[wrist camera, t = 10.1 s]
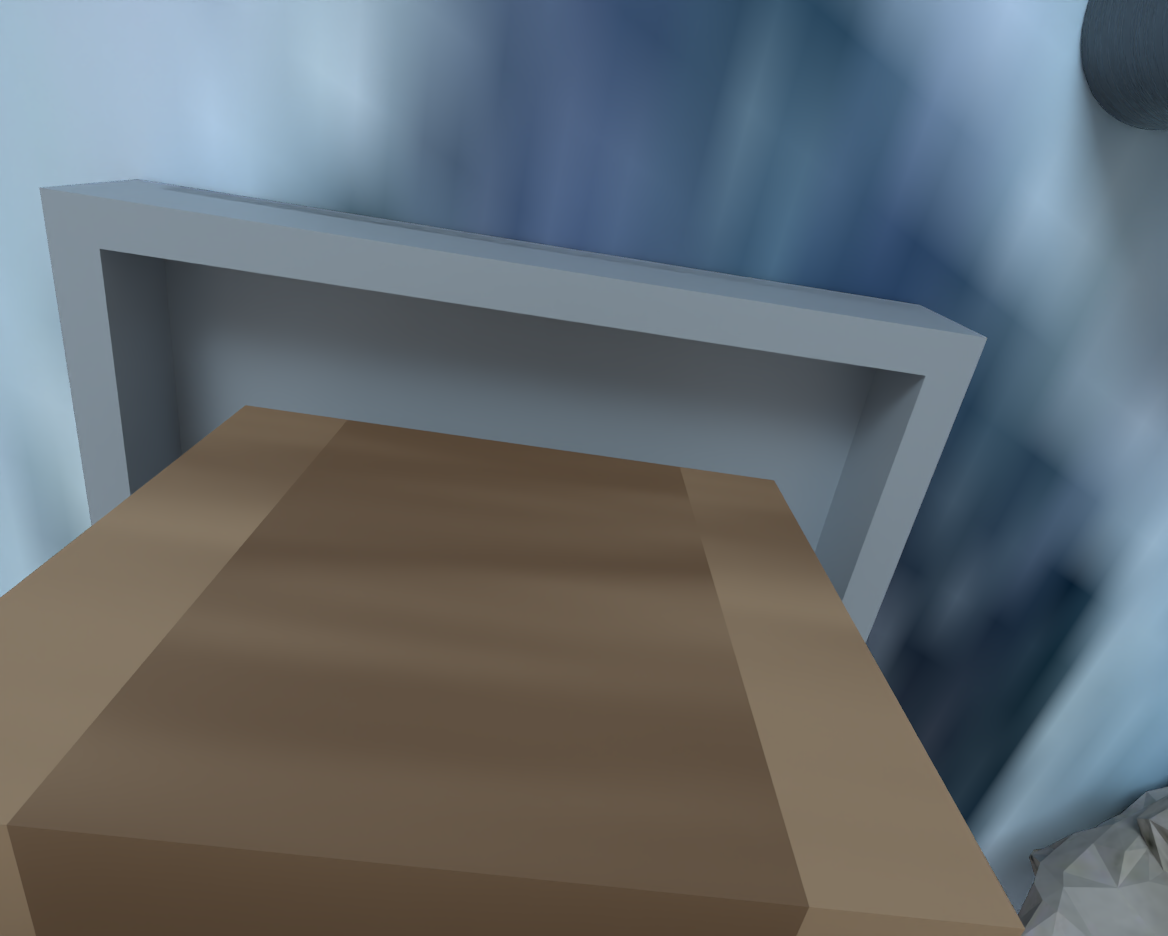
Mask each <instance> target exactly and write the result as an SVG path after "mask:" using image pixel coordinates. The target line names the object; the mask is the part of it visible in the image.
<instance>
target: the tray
mask: <svg viewBox="0 0 1168 936" xmlns="http://www.w3.org/2000/svg"><path fill="white" fill-rule="evenodd" d="M40 194H41V200H42V207H43V213H44V220H45V226H46V233H47V239H48V245H49V252H50V258H51V265H52V271H53V278H54V284H55V291H56V297H57V304H58V310H59V317H60V323H61V330H62V336H63V343H64V349H65V356H66V362H67V369H68V375H69V382H70V388H71V395H72V401H73V408H74V414H75V421H76V427H77V434H78V440H79V447H80V453H81V460H82V466H83V473H84V479H85V486H86V492H87V499H88V505H89V512H90V518H91V525H94V524H95V523H96V522H97V521H99V520H100V519H101V518H103V517H104V516H105V515H106V514H108V513H109V512H110V511H111V510H113V509H114V508H115V507H117V506H118V505H119V504H120V503H122V502H123V501H124V500H125V499H127V498H128V497H129V496H131V495H132V494H133V493H134V492H136V491H137V490H138V489H139V488H141V487H142V486H143V485H145V484H146V483H147V482H148V481H150V480H151V479H152V478H153V477H155V476H156V475H157V474H159V473H160V472H161V471H162V470H164V469H165V468H166V467H167V466H169V465H170V464H171V463H173V462H174V461H175V460H176V459H178V458H179V457H180V456H181V455H183V454H184V453H185V452H187V451H188V450H189V449H190V448H192V447H193V446H194V445H195V444H197V443H198V442H199V441H201V440H202V439H203V438H204V437H206V436H207V435H208V434H209V433H211V432H212V431H213V430H215V429H216V428H217V427H218V426H220V425H221V424H222V423H223V422H225V421H226V420H227V419H229V418H230V417H231V416H232V415H234V414H235V413H236V412H237V411H239V410H240V409H241V408H243V407H244V406H245V405H247V406H254V407H262V408H269V409H276V410H283V411H290V412H297V413H304V414H311V415H318V416H325V417H332V418H339V419H346V420H353V421H360V422H367V423H374V424H381V425H388V426H395V427H402V428H409V429H416V430H423V431H431V432H438V433H445V434H452V435H459V436H466V437H473V438H480V439H487V440H494V441H501V442H508V443H515V444H522V445H529V446H536V447H543V448H550V449H557V450H564V451H571V452H578V453H585V454H592V455H600V456H607V457H614V458H621V459H628V460H635V461H642V462H649V463H656V464H663V465H670V466H677V467H684V468H691V469H698V470H705V471H712V472H719V473H726V474H733V475H740V476H747V477H754V478H761V479H768V480H774V481H775V483H776V485H777V486H778V488H779V490H780V492H781V493H782V495H783V497H784V499H785V501H786V502H787V504H788V506H789V508H790V510H791V511H792V513H793V515H794V517H795V518H796V520H797V522H798V524H799V526H800V527H801V529H802V531H803V533H804V535H805V536H806V538H807V540H808V542H809V543H810V545H811V547H812V549H813V551H814V552H815V554H816V556H817V558H818V560H819V561H820V563H821V565H822V567H823V568H824V570H825V572H826V574H827V576H828V577H829V579H830V581H831V583H832V585H833V586H834V588H835V590H836V592H837V593H838V595H839V597H840V599H841V601H842V602H843V604H844V606H845V608H846V610H847V611H848V613H849V615H850V617H851V618H852V620H853V622H854V624H855V626H856V627H857V629H858V631H859V633H860V635H861V636H862V638H863V640H864V642H865V643H866V641H867V639H868V636H869V633H870V631H871V628H872V626H873V623H874V621H875V618H876V616H877V613H878V611H879V608H880V606H881V603H882V601H883V598H884V596H885V593H886V591H887V588H888V586H889V583H890V581H891V578H892V576H893V573H894V571H895V568H896V566H897V563H898V561H899V558H900V556H901V553H902V551H903V548H904V546H905V543H906V541H907V538H908V536H909V533H910V531H911V528H912V526H913V523H914V521H915V518H916V516H917V513H918V511H919V508H920V506H921V503H922V501H923V498H924V496H925V493H926V491H927V488H928V486H929V483H930V481H931V478H932V476H933V473H934V471H935V468H936V466H937V463H938V460H939V458H940V455H941V453H942V450H943V448H944V445H945V443H946V440H947V438H948V435H949V433H950V430H951V428H952V425H953V423H954V420H955V418H956V415H957V413H958V410H959V408H960V405H961V403H962V400H963V398H964V395H965V393H966V390H967V388H968V385H969V383H970V380H971V378H972V375H973V373H974V370H975V368H976V365H977V363H978V360H979V358H980V355H981V353H982V350H983V348H984V345H985V343H986V340H987V337H985V336H983V335H981V334H979V333H976V332H974V331H972V330H970V329H968V328H966V327H964V326H962V325H960V324H958V323H956V322H954V321H952V320H950V319H948V318H946V317H944V316H941V315H939V314H937V313H935V312H933V311H931V310H929V309H927V308H925V307H923V306H921V305H917V304H911V303H905V302H899V301H893V300H886V299H880V298H874V297H868V296H861V295H855V294H849V293H843V292H836V291H830V290H824V289H818V288H812V287H805V286H799V285H793V284H787V283H780V282H774V281H768V280H762V279H756V278H749V277H743V276H737V275H731V274H724V273H718V272H712V271H706V270H700V269H693V268H687V267H681V266H675V265H668V264H662V263H656V262H650V261H643V260H637V259H631V258H625V257H619V256H612V255H606V254H600V253H594V252H587V251H581V250H575V249H569V248H563V247H556V246H550V245H544V244H538V243H531V242H525V241H519V240H513V239H507V238H500V237H494V236H488V235H482V234H475V233H469V232H463V231H457V230H450V229H444V228H438V227H432V226H426V225H419V224H413V223H407V222H401V221H394V220H388V219H382V218H376V217H370V216H363V215H357V214H351V213H345V212H338V211H332V210H326V209H320V208H313V207H307V206H301V205H295V204H289V203H282V202H276V201H270V200H264V199H257V198H251V197H245V196H239V195H233V194H226V193H220V192H214V191H208V190H201V189H195V188H189V187H183V186H177V185H170V184H164V183H158V182H152V181H145V180H139V179H134V180H123V181H111V182H99V183H88V184H76V185H64V186H53V187H41V188H40Z"/></svg>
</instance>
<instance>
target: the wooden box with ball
mask: <svg viewBox="0 0 1168 936" xmlns="http://www.w3.org/2000/svg"><path fill="white" fill-rule="evenodd" d="M1024 930H1025V927H1024V926H1023V924H1022V922H1021V920H1020V919H1019V917H1018V915H1017V913H1016V911H1015V910H1014V908H1013V906H1012V904H1011V902H1010V901H1009V899H1008V897H1007V895H1006V894H1005V892H1004V890H1003V888H1002V886H1001V885H1000V883H999V881H998V879H997V877H996V876H995V874H994V872H993V870H992V869H991V867H990V865H989V863H988V861H987V860H986V858H985V856H984V854H983V852H982V851H981V849H980V847H979V845H978V844H977V842H976V840H975V838H974V836H973V835H972V833H971V831H970V829H969V827H968V826H967V824H966V822H965V820H964V818H963V817H962V815H961V813H960V811H959V810H958V808H957V806H956V804H955V802H954V801H953V799H952V797H951V795H950V794H949V792H948V790H947V788H946V786H945V785H944V783H943V781H942V779H941V777H940V776H939V774H938V772H937V770H936V768H935V767H934V765H933V763H932V761H931V760H930V758H929V756H928V754H927V752H926V751H925V749H924V747H923V745H922V744H921V742H920V740H919V738H918V736H917V735H916V733H915V731H914V729H913V727H912V726H911V724H910V722H909V720H908V718H907V717H906V715H905V713H904V711H903V710H902V708H901V706H900V704H899V702H898V701H897V699H896V697H895V695H894V693H893V692H892V690H891V688H890V686H889V685H888V683H887V681H886V679H885V677H884V676H883V674H882V672H881V670H880V668H879V667H878V665H877V663H876V661H875V660H874V658H873V656H872V654H871V652H870V651H869V649H868V647H867V645H866V643H865V642H864V640H863V638H862V636H861V635H860V633H859V631H858V629H857V627H856V626H855V624H854V622H853V620H852V618H851V617H850V615H849V613H848V611H847V610H846V608H845V606H844V604H843V602H842V601H841V599H840V597H839V595H838V593H837V592H836V590H835V588H834V586H833V585H832V583H831V581H830V579H829V577H828V576H827V574H826V572H825V570H824V568H823V567H822V565H821V563H820V561H819V560H818V558H817V556H816V554H815V552H814V551H813V549H812V547H811V545H810V543H809V542H808V540H807V538H806V536H805V535H804V533H803V531H802V529H801V527H800V526H799V524H798V522H797V520H796V518H795V517H794V515H793V513H792V511H791V510H790V508H789V506H788V504H787V502H786V501H785V499H784V497H783V495H782V493H781V492H780V490H779V488H778V486H777V485H776V483H775V481H774V480H768V479H761V478H754V477H747V476H740V475H733V474H726V473H719V472H712V471H705V470H698V469H691V468H684V467H677V466H670V465H663V464H656V463H649V462H642V461H635V460H628V459H621V458H614V457H607V456H600V455H592V454H585V453H578V452H571V451H564V450H557V449H550V448H543V447H536V446H529V445H522V444H515V443H508V442H501V441H494V440H487V439H480V438H473V437H466V436H459V435H452V434H445V433H438V432H431V431H423V430H416V429H409V428H402V427H395V426H388V425H381V424H374V423H367V422H360V421H353V420H346V419H339V418H332V417H325V416H318V415H311V414H304V413H297V412H290V411H283V410H276V409H269V408H262V407H254V406H247V405H245V406H244V407H243V408H241V409H240V410H239V411H237V412H236V413H235V414H234V415H232V416H231V417H230V418H229V419H227V420H226V421H225V422H223V423H222V424H221V425H220V426H218V427H217V428H216V429H215V430H213V431H212V432H211V433H209V434H208V435H207V436H206V437H204V438H203V439H202V440H201V441H199V442H198V443H197V444H195V445H194V446H193V447H192V448H190V449H189V450H188V451H187V452H185V453H184V454H183V455H181V456H180V457H179V458H178V459H176V460H175V461H174V462H173V463H171V464H170V465H169V466H167V467H166V468H165V469H164V470H162V471H161V472H160V473H159V474H157V475H156V476H155V477H153V478H152V479H151V480H150V481H148V482H147V483H146V484H145V485H143V486H142V487H141V488H139V489H138V490H137V491H136V492H134V493H133V494H132V495H131V496H129V497H128V498H127V499H125V500H124V501H123V502H122V503H120V504H119V505H118V506H117V507H115V508H114V509H113V510H111V511H110V512H109V513H108V514H106V515H105V516H104V517H103V518H101V519H100V520H99V521H97V522H96V523H95V524H94V525H92V526H91V527H90V528H89V529H87V530H86V531H85V532H83V533H82V534H81V535H80V536H78V537H77V538H76V539H75V540H73V541H72V542H71V543H69V544H68V545H67V546H66V547H64V548H63V549H62V550H61V551H59V552H58V553H57V554H55V555H54V556H53V557H52V558H50V559H49V560H48V561H47V562H45V563H44V564H43V565H41V566H40V567H39V568H38V569H36V570H35V571H34V572H33V573H31V574H30V575H29V576H27V577H26V578H25V579H24V580H22V581H21V582H20V583H19V584H17V585H16V586H15V587H13V588H12V589H11V590H10V591H8V592H7V593H6V594H5V595H3V596H2V597H1V598H0V936H1021V935H1022V933H1023V932H1024Z"/></svg>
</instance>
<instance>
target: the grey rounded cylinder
mask: <svg viewBox="0 0 1168 936" xmlns="http://www.w3.org/2000/svg"><path fill="white" fill-rule="evenodd" d="M1082 59H1083V66H1084V71H1085V74H1086V78H1087V81H1088V84H1089V86H1090V88H1091V90H1092V92H1093V95H1094V96H1095V97H1096V99H1097V100H1098V102H1099V103H1100V105H1101V106H1102V107H1103V108H1104V109H1105V110H1106V111H1107V112H1108V113H1109V114H1111V115H1112V116H1114V117H1115V118H1116V119H1118V120H1119V121H1122V122H1124V123H1126V124H1128V125H1131V126H1134V127H1138V128H1142V129H1151V130H1168V0H1089V3H1088V6H1087V10H1086V15H1085V19H1084V24H1083V33H1082Z"/></svg>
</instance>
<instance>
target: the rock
mask: <svg viewBox="0 0 1168 936" xmlns="http://www.w3.org/2000/svg"><path fill="white" fill-rule="evenodd" d="M1029 858H1030V861H1031V864H1032V868H1033V871H1034V874H1035V880H1034V883H1033V885H1032V887H1031V889H1030V891H1029V893H1028V895H1027V897H1026V899H1025V901H1024V904H1023V906H1022V908H1021V910H1020V912H1019V914H1018V917H1019V919H1020V920H1021V922H1022V924H1023V926H1024V927H1025V930H1024V932H1023V933H1022V935H1021V936H1168V787H1164V788H1160V789H1155V790H1151V791H1147V792H1145V793H1144V794H1143V795H1142V796H1141V797H1140V798H1138V799H1137V800H1136V801H1135V802H1134V803H1133V804H1131V805H1130V806H1129V807H1128V808H1127V809H1126V810H1125V811H1123V812H1122V813H1121V814H1119V815H1117V816H1115V817H1113V818H1111V819H1109V820H1107V821H1105V822H1103V823H1101V824H1099V825H1098V827H1096V828H1092V829H1088V830H1084V831H1080V832H1076V833H1073V834H1071V835H1069V836H1067V837H1066V838H1064V839H1062V840H1060V841H1058V842H1056V843H1054V844H1052V845H1050V846H1048V847H1046V848H1043V849H1036V850H1033V852H1032V853H1031V855H1030V857H1029Z"/></svg>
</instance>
